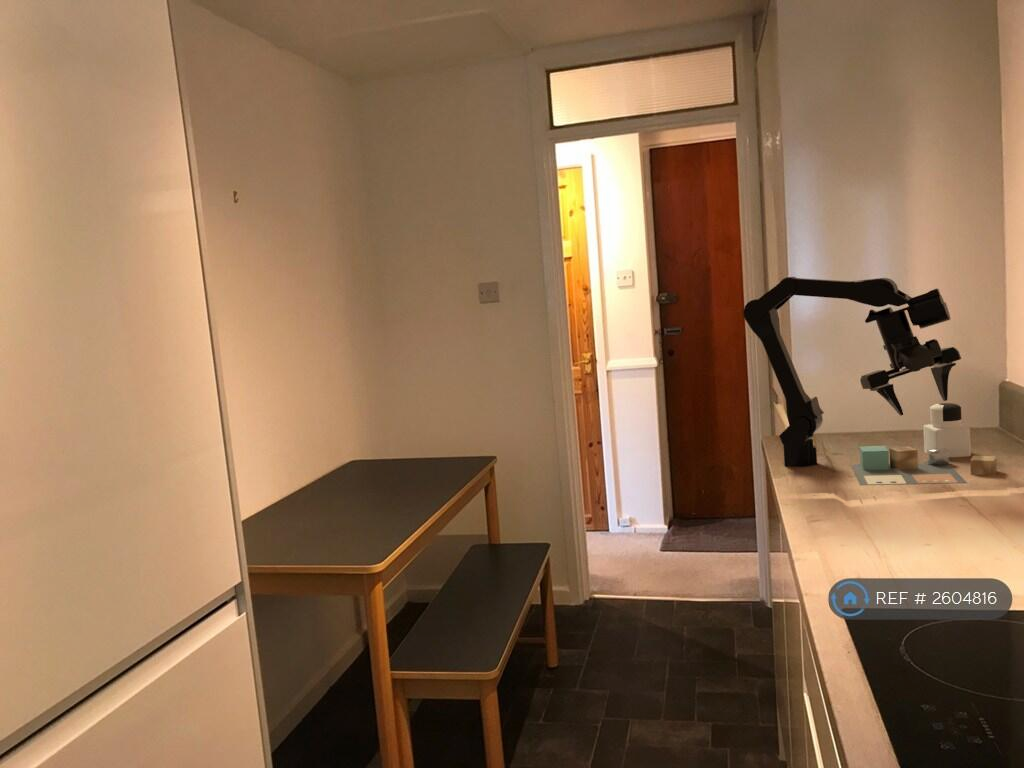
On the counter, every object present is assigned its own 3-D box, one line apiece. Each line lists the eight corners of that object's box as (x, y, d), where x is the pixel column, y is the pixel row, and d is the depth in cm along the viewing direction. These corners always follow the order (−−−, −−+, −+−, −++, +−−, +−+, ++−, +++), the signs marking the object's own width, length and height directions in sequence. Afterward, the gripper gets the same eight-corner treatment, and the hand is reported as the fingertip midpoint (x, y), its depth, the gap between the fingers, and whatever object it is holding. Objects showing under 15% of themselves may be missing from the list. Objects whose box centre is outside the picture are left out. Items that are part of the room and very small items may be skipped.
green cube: (863, 470, 176) (862, 451, 175) (860, 464, 180) (859, 446, 180) (889, 469, 174) (888, 450, 174) (885, 464, 179) (884, 445, 179)
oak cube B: (970, 460, 164) (993, 460, 162) (973, 455, 168) (996, 456, 165) (971, 479, 165) (994, 481, 162) (973, 475, 168) (996, 476, 166)
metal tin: (929, 466, 174) (929, 452, 173) (925, 462, 178) (925, 448, 177) (950, 465, 173) (950, 451, 172) (946, 461, 176) (946, 447, 176)
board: (860, 490, 164) (859, 484, 164) (850, 469, 182) (850, 464, 181) (967, 488, 159) (967, 482, 159) (947, 466, 176) (947, 461, 176)
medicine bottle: (957, 453, 186) (955, 400, 185) (971, 460, 179) (969, 405, 178) (923, 456, 187) (921, 403, 186) (936, 462, 180) (934, 408, 179)
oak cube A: (898, 470, 173) (898, 451, 172) (890, 466, 177) (889, 447, 176) (918, 468, 173) (917, 449, 172) (909, 464, 177) (908, 446, 176)
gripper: (867, 349, 165) (894, 424, 164) (959, 317, 163) (987, 393, 163) (848, 352, 176) (874, 422, 175) (935, 322, 175) (961, 393, 174)
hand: (923, 407), depth 172 cm, fingers open, 9 cm apart
